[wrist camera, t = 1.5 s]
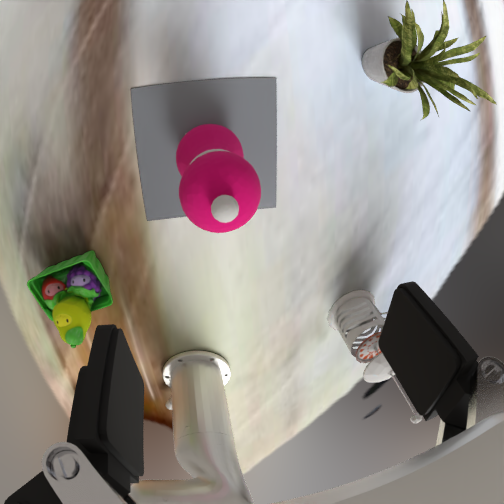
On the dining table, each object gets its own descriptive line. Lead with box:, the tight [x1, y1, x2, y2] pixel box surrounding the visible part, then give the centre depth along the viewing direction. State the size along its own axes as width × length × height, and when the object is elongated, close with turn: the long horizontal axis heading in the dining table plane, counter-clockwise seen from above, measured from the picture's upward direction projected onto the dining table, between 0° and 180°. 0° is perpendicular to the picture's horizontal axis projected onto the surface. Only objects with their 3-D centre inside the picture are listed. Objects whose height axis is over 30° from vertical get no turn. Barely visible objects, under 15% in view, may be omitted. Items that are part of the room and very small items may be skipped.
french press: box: [327, 290, 423, 423], centre depth 44 cm, size 10×12×25 cm
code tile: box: [131, 78, 277, 221], centre depth 36 cm, size 17×17×1 cm
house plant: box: [362, 0, 496, 120], centre depth 27 cm, size 14×14×16 cm
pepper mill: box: [176, 124, 261, 233], centre depth 28 cm, size 7×7×20 cm
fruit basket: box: [27, 250, 113, 348], centre depth 36 cm, size 11×9×11 cm
